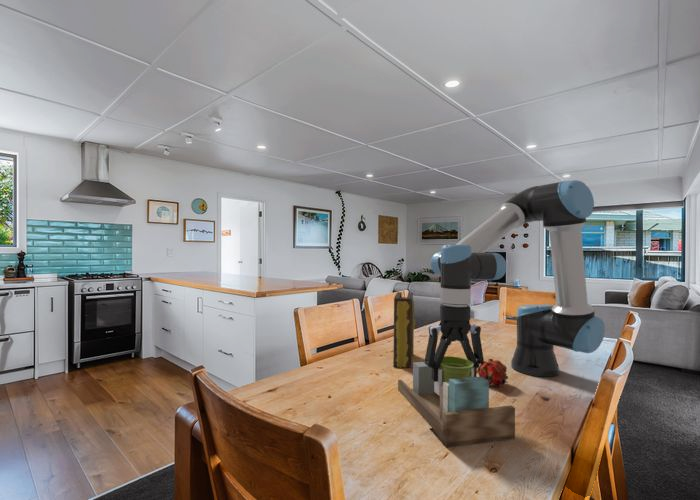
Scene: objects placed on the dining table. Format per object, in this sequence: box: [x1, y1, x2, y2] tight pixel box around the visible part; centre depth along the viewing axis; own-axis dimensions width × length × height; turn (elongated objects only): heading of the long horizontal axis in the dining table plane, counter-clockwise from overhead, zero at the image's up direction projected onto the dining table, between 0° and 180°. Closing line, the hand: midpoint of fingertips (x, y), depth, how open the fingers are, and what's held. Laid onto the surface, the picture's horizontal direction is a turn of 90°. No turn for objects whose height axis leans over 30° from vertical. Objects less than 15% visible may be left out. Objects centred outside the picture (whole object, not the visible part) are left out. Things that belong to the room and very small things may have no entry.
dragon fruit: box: [477, 358, 509, 388], centre depth 111 cm, size 8×8×12 cm
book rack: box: [397, 376, 516, 448], centre depth 91 cm, size 17×29×13 cm, turn 13°
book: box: [392, 291, 416, 369], centre depth 136 cm, size 22×8×25 cm, turn 168°
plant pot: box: [439, 355, 474, 385], centre depth 91 cm, size 9×9×9 cm
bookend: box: [412, 361, 435, 395], centre depth 103 cm, size 9×4×8 cm, turn 103°
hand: (453, 392), depth 91 cm, fingers closed on plant pot, 8 cm apart
